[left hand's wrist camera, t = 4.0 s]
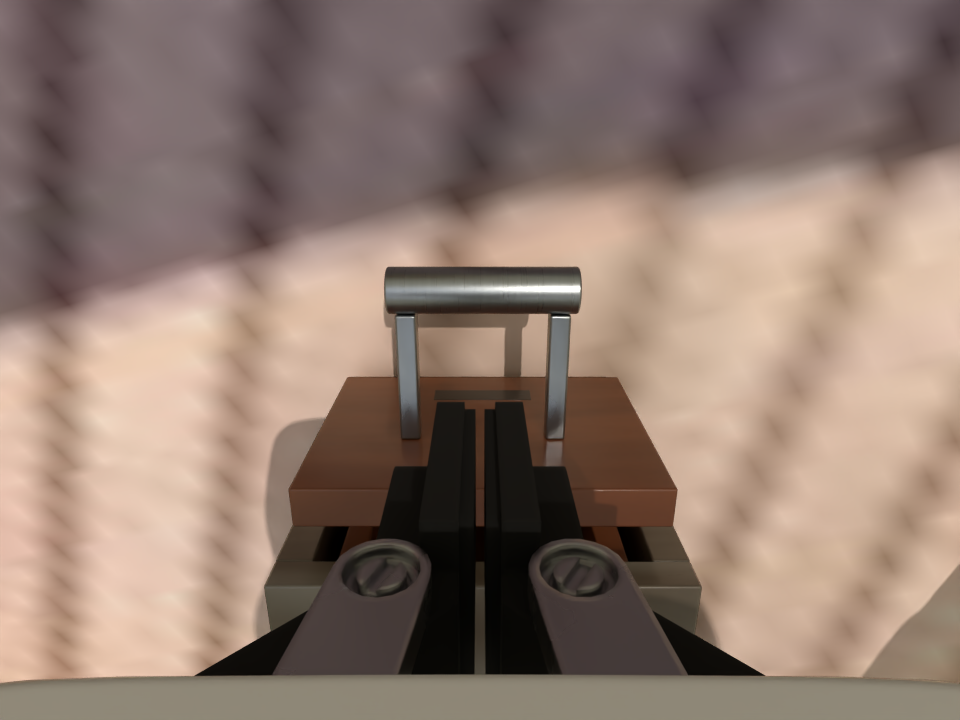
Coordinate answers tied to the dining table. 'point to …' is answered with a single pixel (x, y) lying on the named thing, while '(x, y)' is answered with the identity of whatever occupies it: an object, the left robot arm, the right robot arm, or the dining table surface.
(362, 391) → the drawer
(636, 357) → the dining table surface
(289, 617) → the grey storage box
